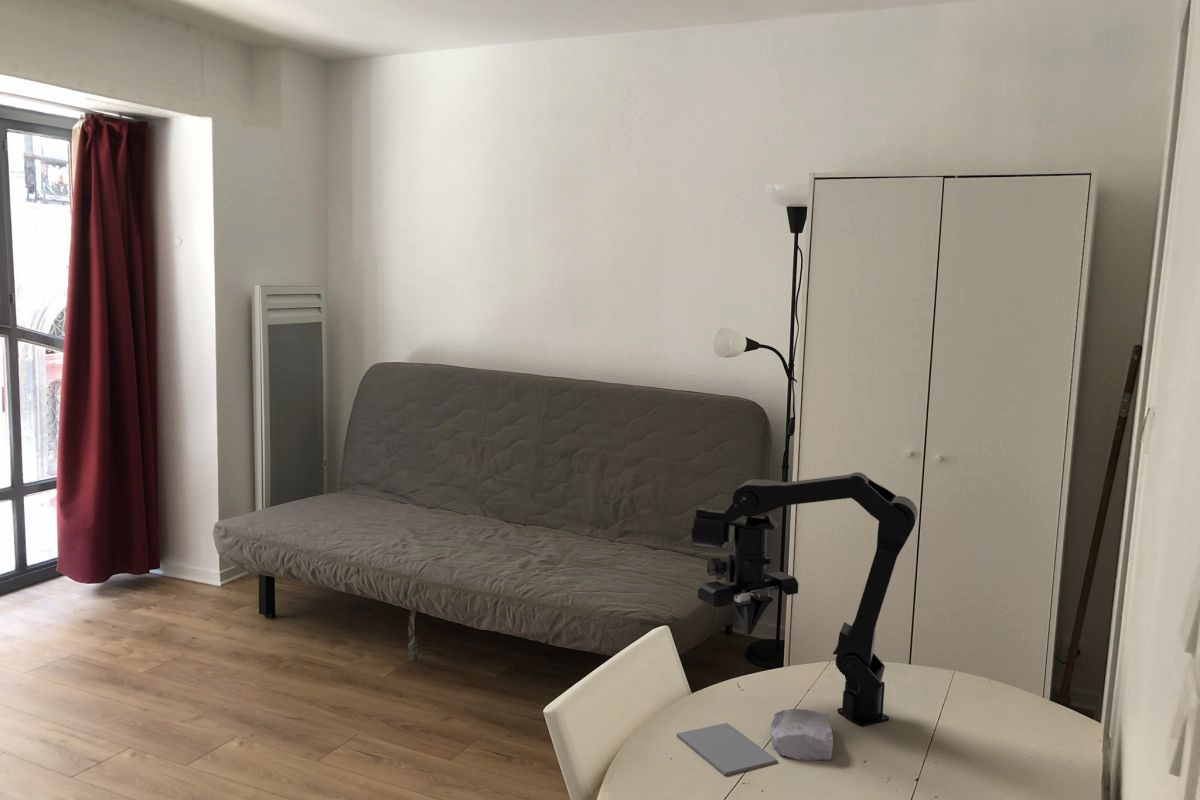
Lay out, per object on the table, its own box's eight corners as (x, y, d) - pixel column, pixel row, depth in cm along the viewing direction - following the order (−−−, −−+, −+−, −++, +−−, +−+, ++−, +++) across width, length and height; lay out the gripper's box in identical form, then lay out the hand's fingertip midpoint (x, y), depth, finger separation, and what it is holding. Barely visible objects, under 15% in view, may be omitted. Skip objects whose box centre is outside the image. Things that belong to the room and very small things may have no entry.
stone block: (774, 767, 150) (838, 762, 149) (770, 738, 150) (834, 732, 149) (771, 735, 162) (830, 730, 161) (767, 708, 162) (826, 703, 161)
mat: (726, 725, 161) (727, 722, 161) (777, 762, 149) (777, 759, 149) (676, 736, 157) (676, 733, 157) (724, 775, 145) (724, 772, 144)
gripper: (763, 535, 182) (761, 613, 184) (682, 545, 173) (680, 628, 175) (801, 548, 172) (798, 631, 174) (717, 561, 164) (714, 648, 165)
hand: (747, 634), depth 172 cm, fingers closed
